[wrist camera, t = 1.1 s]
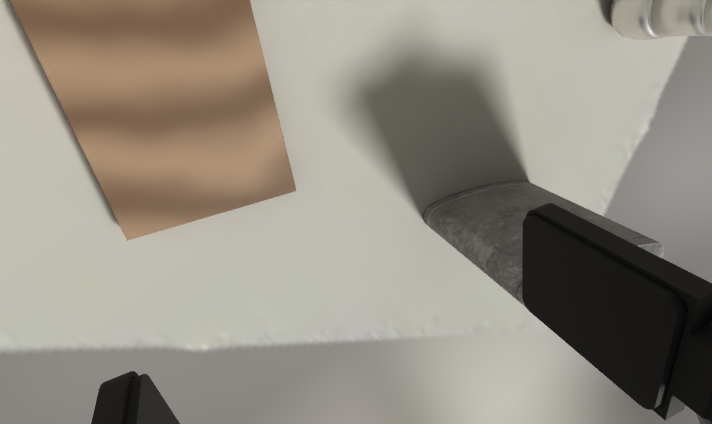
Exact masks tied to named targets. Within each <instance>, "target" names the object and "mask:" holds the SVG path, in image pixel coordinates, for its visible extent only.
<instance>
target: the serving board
mask: <svg viewBox="0 0 712 424" xmlns="http://www.w3.org/2000/svg"><path fill="white" fill-rule="evenodd" d="M10 2H11V4H12V6H13V8H14V10H15V12H16V14H17V16H18V18H19V20H20V22H21V24H22V26H23V28H24V30H25V32H26V34H27V36H28V38H29V40H30V43H31V45H32V47H33V49H34V51H35V53H36V55H37V57H38V59H39V61H40V63H41V65H42V67H43V69H44V71H45V73H46V75H47V77H48V79H49V81H50V84H51V86H52V88H53V90H54V92H55V94H56V96H57V98H58V100H59V102H60V104H61V106H62V108H63V110H64V112H65V114H66V116H67V118H68V120H69V122H70V125H71V127H72V129H73V131H74V133H75V135H76V137H77V139H78V141H79V143H80V145H81V147H82V149H83V151H84V153H85V155H86V157H87V159H88V161H89V163H90V166H91V168H92V170H93V172H94V174H95V176H96V178H97V180H98V182H99V184H100V186H101V188H102V190H103V192H104V194H105V196H106V198H107V200H108V202H109V204H110V206H111V209H112V211H113V213H114V215H115V217H116V219H117V221H118V223H119V225H120V227H121V229H122V231H123V233H124V235H125V237H126V239H127V240H131V239H134V238H138V237H141V236H144V235H148V234H151V233H155V232H158V231H161V230H165V229H168V228H172V227H175V226H178V225H182V224H185V223H189V222H192V221H195V220H199V219H202V218H206V217H209V216H212V215H216V214H219V213H223V212H226V211H229V210H233V209H236V208H240V207H243V206H246V205H250V204H253V203H257V202H260V201H263V200H267V199H270V198H274V197H277V196H280V195H284V194H287V193H291V192H294V191H296V187H295V183H294V179H293V175H292V171H291V167H290V163H289V159H288V155H287V151H286V147H285V142H284V138H283V134H282V130H281V126H280V122H279V118H278V114H277V110H276V106H275V102H274V98H273V94H272V89H271V85H270V81H269V77H268V73H267V69H266V65H265V61H264V57H263V53H262V49H261V45H260V40H259V36H258V32H257V28H256V24H255V20H254V16H253V12H252V8H251V4H250V0H10Z"/></svg>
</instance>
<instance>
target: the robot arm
mask: <svg viewBox="0 0 712 424" xmlns="http://www.w3.org/2000/svg"><path fill="white" fill-rule="evenodd" d="M522 298H523V302H524V304H525V306H526V308H527V309H528V310H529V311H530V312H531V313H532V314H533V315H535V316H536V317H537V318H538V319H539V320H540V321H542V322H543V323H544V324H545V325H546V326H548V327H549V328H550V329H551V330H552V331H553V332H555V333H556V334H557V335H558V336H559V337H561V338H562V339H563V340H564V341H565V342H566V343H568V344H569V345H570V346H571V347H572V348H573V349H575V350H576V351H577V352H578V353H579V354H581V355H582V356H583V357H584V358H585V359H586V360H588V361H589V362H590V363H591V364H592V365H594V366H595V367H596V368H597V369H598V370H599V371H600V372H602V373H603V374H604V375H605V376H606V377H608V378H609V379H610V380H611V381H612V382H613V383H615V384H616V385H617V386H618V387H619V388H620V389H622V390H623V391H624V392H625V393H626V394H628V395H629V396H630V397H631V398H632V399H633V400H635V401H636V402H637V403H638V404H639V405H641V406H642V407H644V408H646V409H650V410H651V409H652V410H654V411H655V412H656V413H657V414H658V415H659V416H661V417H662V418H663V419H664V420H667V419H668V418H670V417H672V416H673V415H675V414H677V413H679V412H680V411H682V410H684V407H685V405H686V406H688V407H689V408H690V409H692V410H693V411H694V412H695V413H696V415H697V418H698V420H699V423H700V424H712V283H709V282H708V281H706V280H704V279H702V278H700V277H698V276H696V275H694V274H692V273H690V272H688V271H686V270H684V269H682V268H680V267H678V266H676V265H674V264H672V263H670V262H668V261H666V260H664V259H662V258H660V257H658V256H656V255H654V254H652V253H650V252H648V251H646V250H644V249H642V248H640V247H638V246H636V245H634V244H632V243H630V242H628V241H626V240H624V239H622V238H621V237H619V236H617V235H615V234H613V233H611V232H609V231H607V230H605V229H603V228H601V227H599V226H597V225H595V224H593V223H591V222H589V221H587V220H585V219H583V218H581V217H579V216H577V215H575V214H573V213H571V212H569V211H567V210H565V209H563V208H561V207H559V206H557V205H555V204H552V203H547V204H545V205H542V206H540V207H537V208H535V209H532V210H530V211H529V212H528V213H527V215H526V219H524V221H523V249H522ZM91 424H180V423H179V422H178V420H177V419H176V417H175V416H174V414H173V413H172V411H171V409H170V408H169V406H168V405H167V403H166V402H165V400H164V399H163V397H162V396H161V394H160V392H159V391H158V390H157V388H156V386H155V385H154V383H153V382H152V380H151V379H150V377H149V376H148V375H147V374H143V375H140V376H139V375H138V374H137V373H136V372H134V371H132V372H129V373H126V374H123V375H121V376H118V377H116V378H113V379H111V380H109V381H106V382H104V383H103V384H102V385H101V386H100V389H99V393H98V397H97V401H96V406H95V410H94V415H93V419H92V423H91Z"/></svg>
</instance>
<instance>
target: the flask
mask: <svg viewBox="0 0 712 424" xmlns="http://www.w3.org/2000/svg"><path fill="white" fill-rule="evenodd" d="M547 203H552V204H555V205H557V206H559V207H561V208H563V209H565V210H567V211H569V212H571V213H573V214H575V215H577V216H579V217H581V218H583V219H585V220H587V221H589V222H591V223H593V224H595V225H597V226H599V227H601V228H603V229H605V230H607V231H609V232H611V233H613V234H615V235H617V236H619V237H621V238H622V239H624V240H626V241H628V242H630V243H632V244H634V245H636V246H638V247H640V248H642V249H644V250H646V251H648V252H650V253H652V254H654V255H656V256H658V257H660V258H662V256H663V253H664V246H663V245H662V244H661V243H659V242H657V241H655V240H653V239H651V238H648V237H646V236H644V235H642V234H640V233H638V232H635V231H633V230H631V229H629V228H627V227H624V226H622V225H620V224H618V223H616V222H614V221H612V220H610V219H607V218H605V217H603V216H601V215H599V214H597V213H594V212H592V211H590V210H588V209H586V208H584V207H582V206H579V205H577V204H575V203H573V202H571V201H569V200H566V199H564V198H562V197H560V196H558V195H556V194H554V193H551V192H549V191H547V190H545V189H543V188H541V187H538V186H536V185H534V184H532V183H530V182H528V181H510V182H501V183H495V184H489V185H485V186H481V187H477V188H473V189H469V190H466V191H463V192H460V193H457V194H454V195H451V196H448V197H446V198H444V199H441V200H439V201H437V202H435V203H432V204H431V205H429V206H428V207H427V209H426V210H425V212H424V222H425V223H426V224H427V225H428V226H429V227H430V228H431V229H433V230H434V231H435V232H436V233H437V234H439V235H440V236H441V237H442V238H443V239H445V240H446V241H447V242H448V243H450V244H451V245H452V246H453V247H454V248H456V249H457V250H458V251H459V252H460V253H462V254H463V255H464V256H465V257H466V258H468V259H469V260H470V261H471V262H472V263H474V264H475V265H476V266H477V267H478V268H480V269H481V270H482V271H483V272H484V273H486V274H487V275H488V276H489V277H490V278H492V279H493V280H494V281H495V282H496V283H498V284H499V285H500V286H501V287H502V288H504V289H505V290H506V291H507V292H508V293H510V294H511V295H512V296H513V297H514V298H516V299H517V300H518V301H519V302H520V303H522V304H523V305H524V306H525V304H524V302H523V298H522V249H523V221H524V219H526V215H527V213H528V212H529V211H530V210H532V209H535V208H537V207H540V206H542V205H545V204H547ZM525 307H526V306H525Z"/></svg>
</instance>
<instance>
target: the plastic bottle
mask: <svg viewBox="0 0 712 424" xmlns="http://www.w3.org/2000/svg"><path fill="white" fill-rule="evenodd" d="M611 21H612V24H613V26H614V28H615V29H616V30H617V32H618V33H619V34H620V35H622V36H624V37H626V38H630V39H634V40H651V39H658V38H663V37H673V36H695V35H701V36H712V0H612V5H611Z"/></svg>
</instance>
